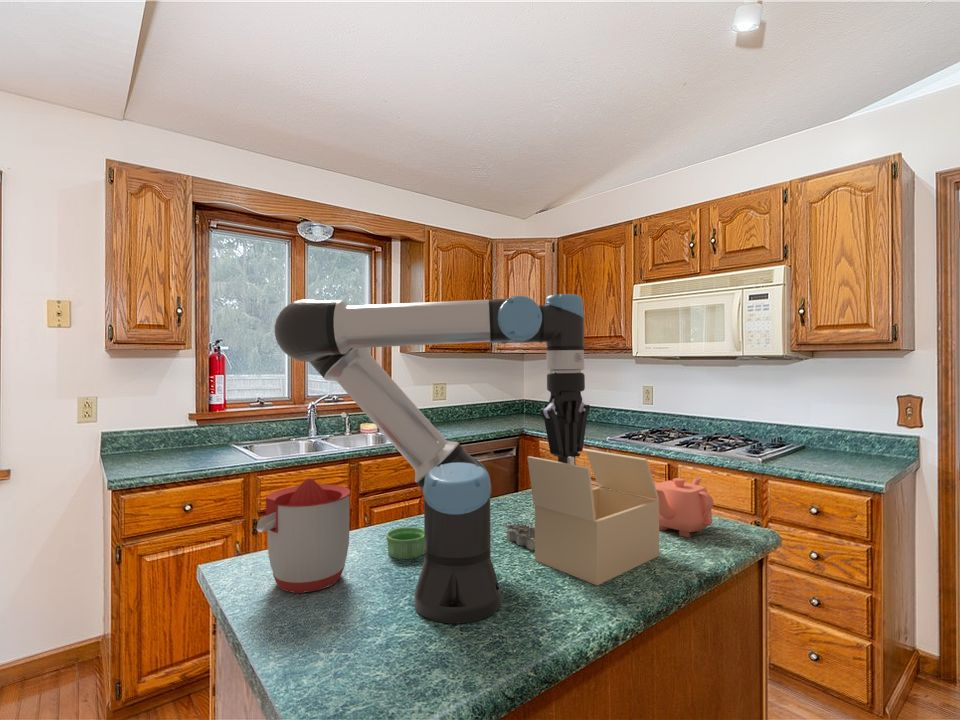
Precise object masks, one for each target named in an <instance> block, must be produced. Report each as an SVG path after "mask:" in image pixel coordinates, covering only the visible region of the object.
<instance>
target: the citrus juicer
mask: <svg viewBox="0 0 960 720" xmlns="http://www.w3.org/2000/svg"><path fill="white" fill-rule="evenodd" d="M350 495H351V490H350V488H348V487H346V486H343V485H338V484H328V483H327V484H324V483H323V484H319V483H318V482H317V481H315V480H314V479H313V478H311V477H308V478H306V479H305V480H304V481H303V482H301V484H300V485H298V486H296V485H295V486H290V487H286V488H285V487H284V488H281V489H278V490H275V491H273V492H271V493H268V494H267V496H266V497H265V516H263V517H262V518H260V519H259V520H258V522H257V524H256V531H257V532H258V533H260V534H262V533H265V532H267V554H268V555H267V556H268V560H269V564H270V568H271V571H272V575H273V578H274V580H275V583H276V585H277V587H278V588H279V589H281V590H283V591H286V592H289V593H294V594H303V593H307V592H314V591H319V590H323V589H326V588H328V587H330V586H332V585H334V584H335V583H337V582H338V581H339V580H340V579H341V578H342V577H341V576H342V574H343V571H344V569H345V565H346V564H345V563H346V560H347V557H348V552H349V551H348V550H349V545H350V544H349V543H350Z"/></svg>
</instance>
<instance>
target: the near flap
mask: <svg viewBox="0 0 960 720" xmlns="http://www.w3.org/2000/svg"><path fill="white" fill-rule="evenodd" d="M526 458H527V464H528V471H529V479H530V487H531V497H532V503H533V504H532V505H534V506H535V505H537V506H541V507H544V508H548V509H551V510H555V511H558V512H561V513H565V514H568V515H572V516H575V517H579V518H582V519H586V520H589V521H593V522H595V521H596V518H595V509H594V500H593V491H592V485H593V483H592V475H591V467H588V466H582V465H577V464H575V465H573V464H568V463H562V462H558V460H551V459H547V458H541V457H537V456H535V457H534V456H532V455H529V456H527V457H526Z"/></svg>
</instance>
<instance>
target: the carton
mask: <svg viewBox="0 0 960 720" xmlns="http://www.w3.org/2000/svg"><path fill="white" fill-rule="evenodd" d="M592 491H593V500H594V509H595V518H596V521H595V522H593V521H589V520H586V519H582V518H579V517H575V516H572V515H568V514H565V513H561V512H558V511H555V510H551V509H548V508H544V507H541V506H537V505H534V526H535V549H534V561H536V562H537V563H540V564H543V565H545V566H548V567H550V568H551V569H552V568H553V569H555V570H557V571H560V572H563V573H565V574H568V575H570V576H572V577H575V578H577V579H580V580H583V581H586V582H588V583H590V584H593V585H595V586H599V585H601V584H604V583H606V582H607V581H609V580H612V579H614V578H616V577H617V576H620V575H622V574H625V573H627V572H628V571H631V570H633V569H634V568H637V567H639V566H641V565H643V564H646V563H647V562H650V561H651V560H653V559H656V558H658V557H659V556H660V530H659V501H658V500H654V499H649V498H648V497H643V496H639V495H634V494H630V493H625V492H621V491H616V490H612V489H607V488H603V487H596V488H592Z"/></svg>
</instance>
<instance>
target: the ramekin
mask: <svg viewBox="0 0 960 720" xmlns="http://www.w3.org/2000/svg"><path fill="white" fill-rule="evenodd" d="M385 538H386V539H387V552H388V555H389V556H390V557H392V558H394V559H397V560H410V559H411V560H412V559H416V558H419V557H421V556H422V555H424V554H425V547H424V528H420V527H417V526H403V527H398V528H394V529H391V530H389V531H387V532H386V533H385Z"/></svg>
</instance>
